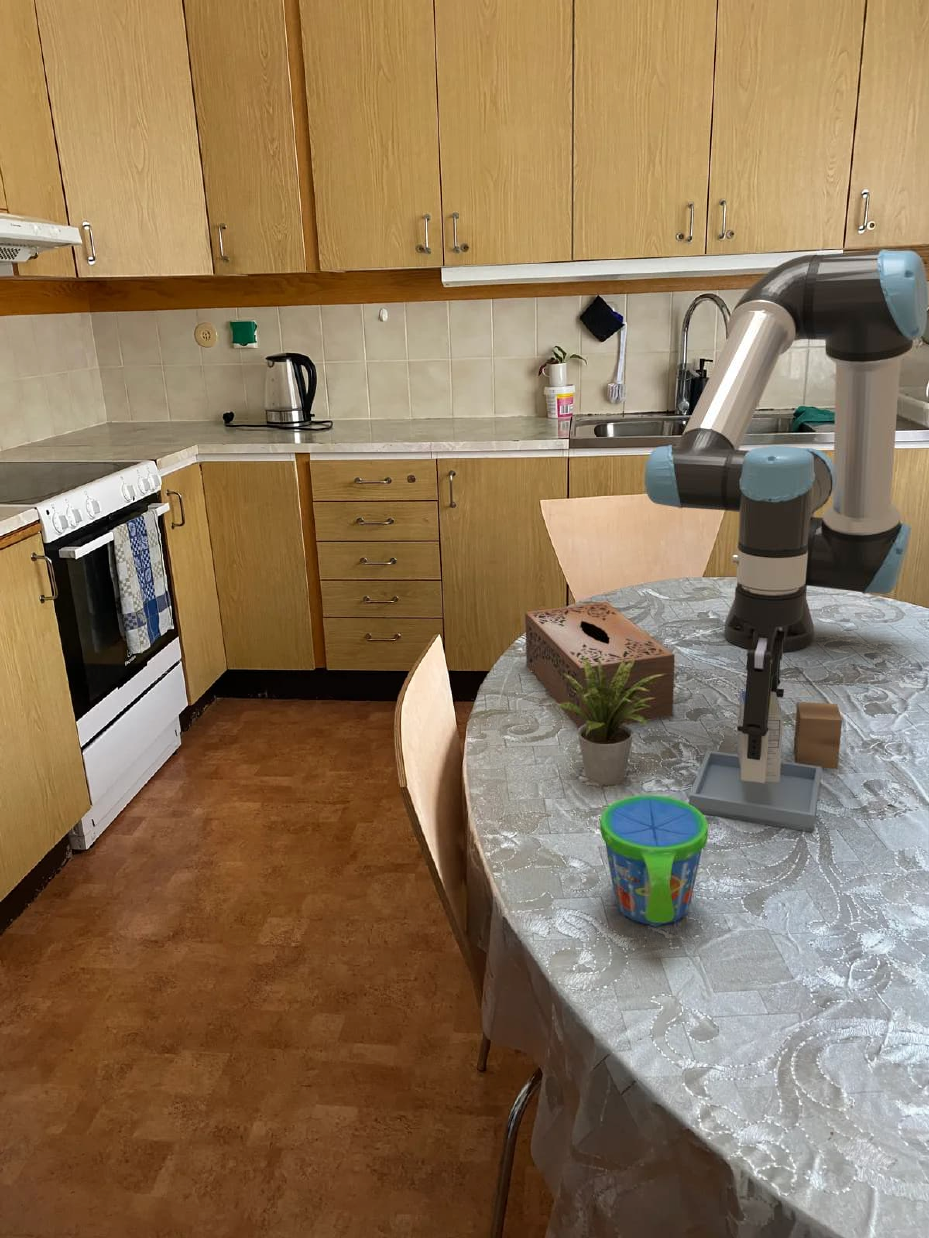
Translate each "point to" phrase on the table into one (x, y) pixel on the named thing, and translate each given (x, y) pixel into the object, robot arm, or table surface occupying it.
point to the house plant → (607, 722)
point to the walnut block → (817, 734)
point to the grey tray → (757, 793)
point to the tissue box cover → (597, 656)
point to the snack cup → (653, 855)
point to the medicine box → (773, 738)
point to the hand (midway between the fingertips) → (758, 762)
